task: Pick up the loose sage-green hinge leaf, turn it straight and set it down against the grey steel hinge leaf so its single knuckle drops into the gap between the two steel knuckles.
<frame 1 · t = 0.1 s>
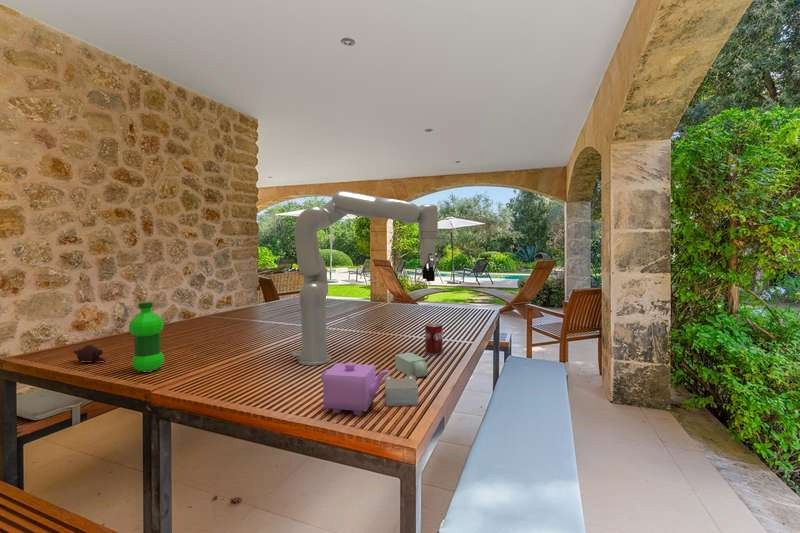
hand: (428, 279, 152), 31 cm above the table, tool pointing down, fingers open, 9 cm apart
steel hinge leaf: (401, 400, 112), on the table
sage hinge leaf: (409, 370, 139), on the table
soda can: (433, 353, 160), on the table
plastic bottle: (148, 371, 141), on the table
teapot: (356, 408, 107), on the table
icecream: (88, 362, 152), on the table
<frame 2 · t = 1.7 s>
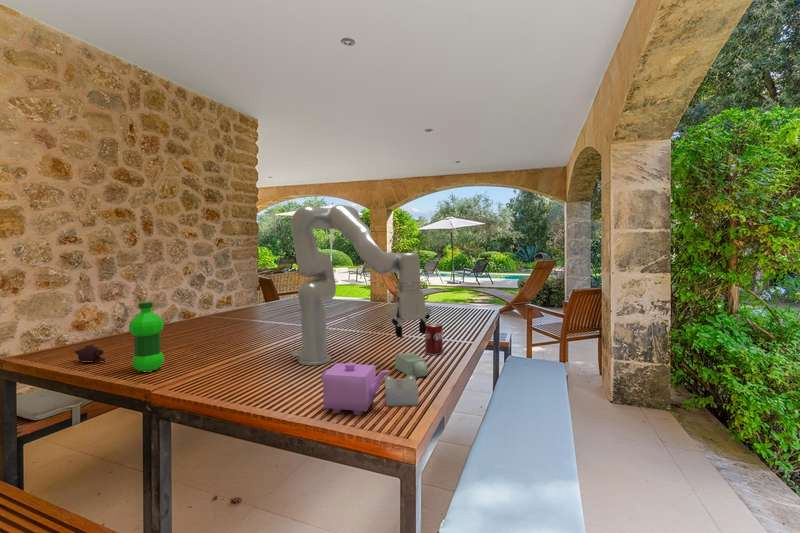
hand: (411, 335, 138), 13 cm above the table, tool pointing down, fingers open, 9 cm apart
nothing on the table moved.
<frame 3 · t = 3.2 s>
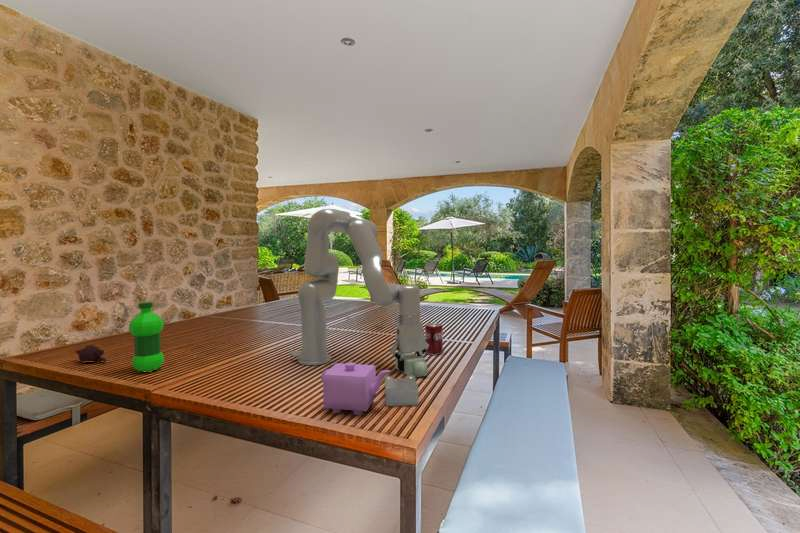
hand: (410, 368, 138), 1 cm above the table, tool pointing down, fingers closed on sage hinge leaf, 6 cm apart
sage hinge leaf: (410, 370, 138), on the table, touching gripper
everything else where it was.
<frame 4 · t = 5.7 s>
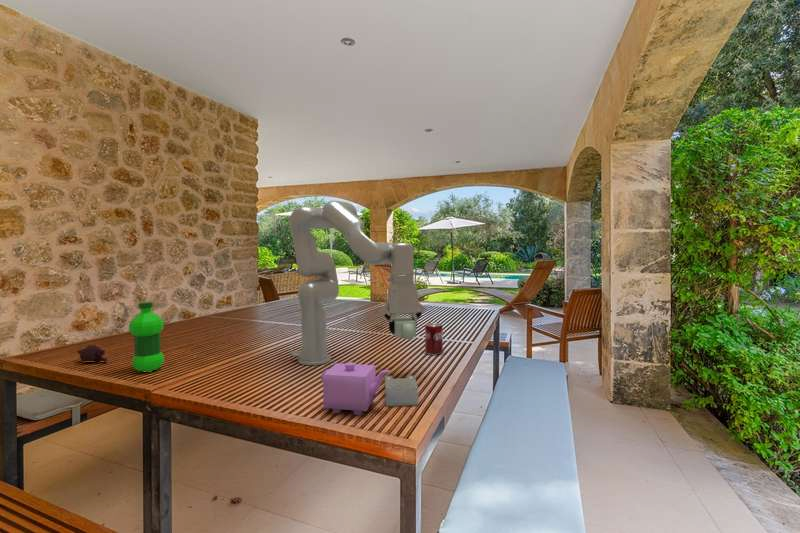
hand: (402, 331, 130), 16 cm above the table, tool pointing down, fingers closed on sage hinge leaf, 6 cm apart
sage hinge leaf: (402, 334, 131), point 15 cm above the table, touching gripper
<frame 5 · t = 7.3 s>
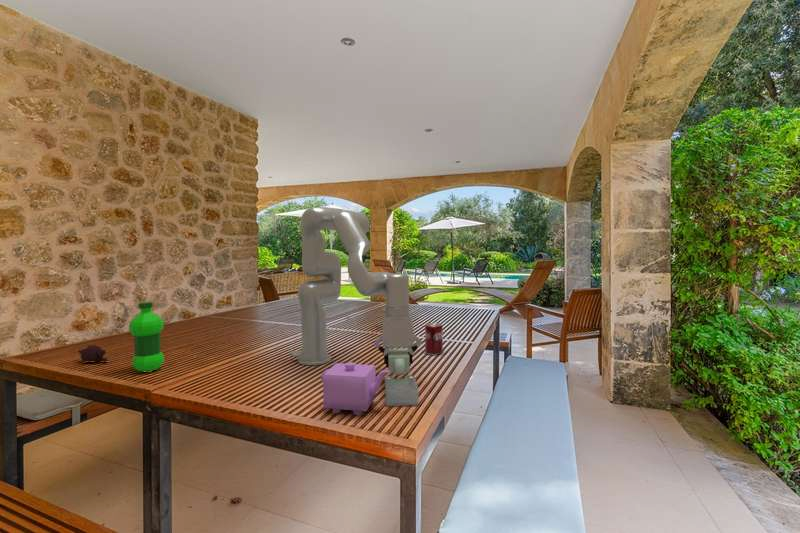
hand: (398, 365, 126), 6 cm above the table, tool pointing down, fingers closed on sage hinge leaf, 6 cm apart
sage hinge leaf: (398, 367, 126), point 5 cm above the table, touching gripper
when the fingers open (2 cm above the table, at t = 8.5 s): sage hinge leaf drops 1 cm, on the table.
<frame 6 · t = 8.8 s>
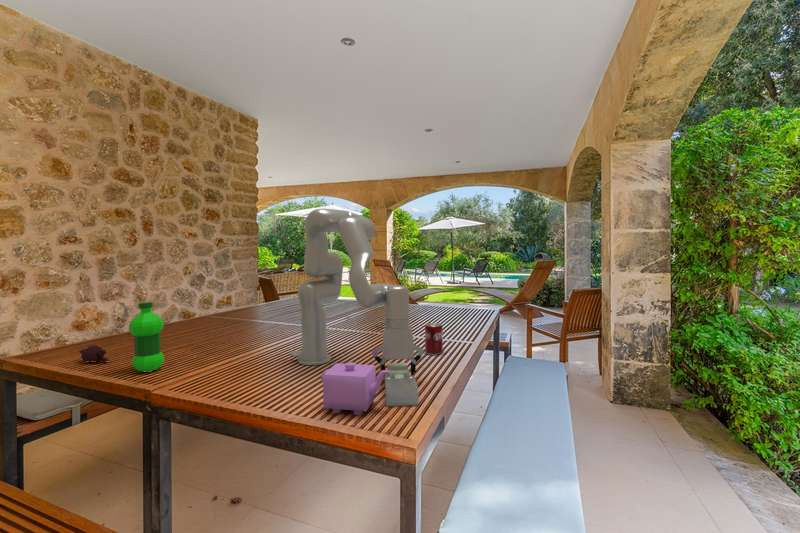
hand: (398, 375, 126), 2 cm above the table, tool pointing down, fingers open, 9 cm apart
sage hinge leaf: (397, 382, 127), on the table
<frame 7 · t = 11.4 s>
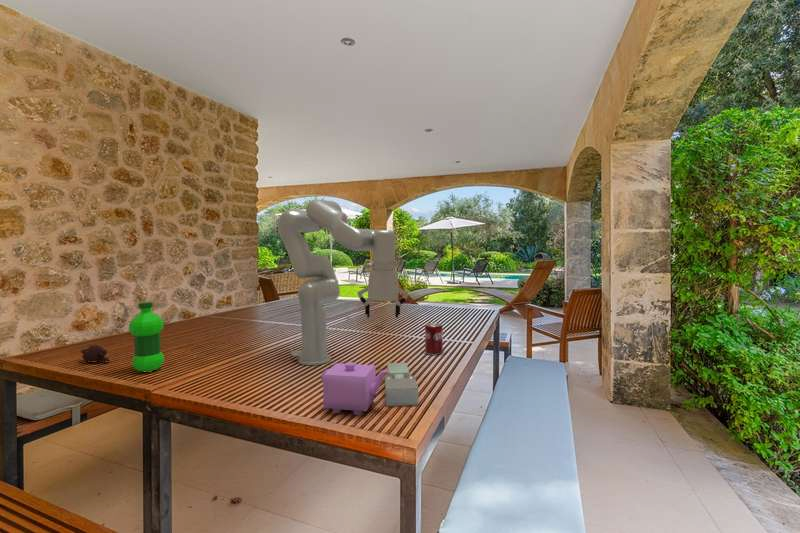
hand: (382, 316, 131), 21 cm above the table, tool pointing down, fingers open, 9 cm apart
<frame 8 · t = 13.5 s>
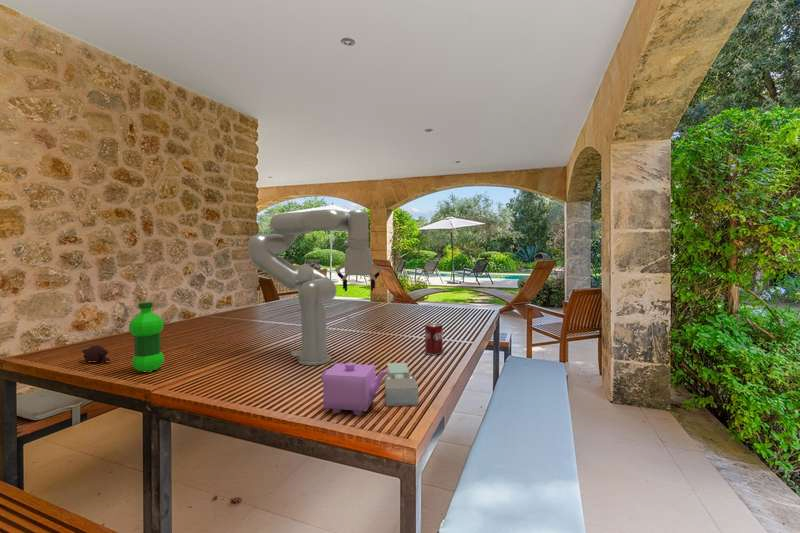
hand: (359, 290, 143), 28 cm above the table, tool pointing down, fingers open, 9 cm apart
at the end: sage hinge leaf 1.0 cm from the target spot on the table beside the steel hinge leaf, on the table; sage hinge leaf tilted 0°; the gripper is holding nothing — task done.
